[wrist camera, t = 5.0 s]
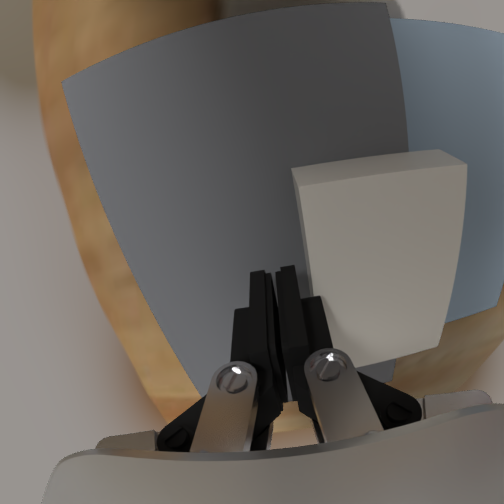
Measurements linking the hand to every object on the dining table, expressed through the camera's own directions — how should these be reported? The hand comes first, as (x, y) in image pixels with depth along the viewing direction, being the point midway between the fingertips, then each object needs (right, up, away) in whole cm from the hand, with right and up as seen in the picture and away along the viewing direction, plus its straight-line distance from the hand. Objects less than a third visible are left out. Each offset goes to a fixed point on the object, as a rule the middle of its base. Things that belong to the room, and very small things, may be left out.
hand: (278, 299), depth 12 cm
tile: (+4, +2, +1) cm, 5 cm away
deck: (0, +3, +5) cm, 5 cm away
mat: (+11, +5, +3) cm, 13 cm away
